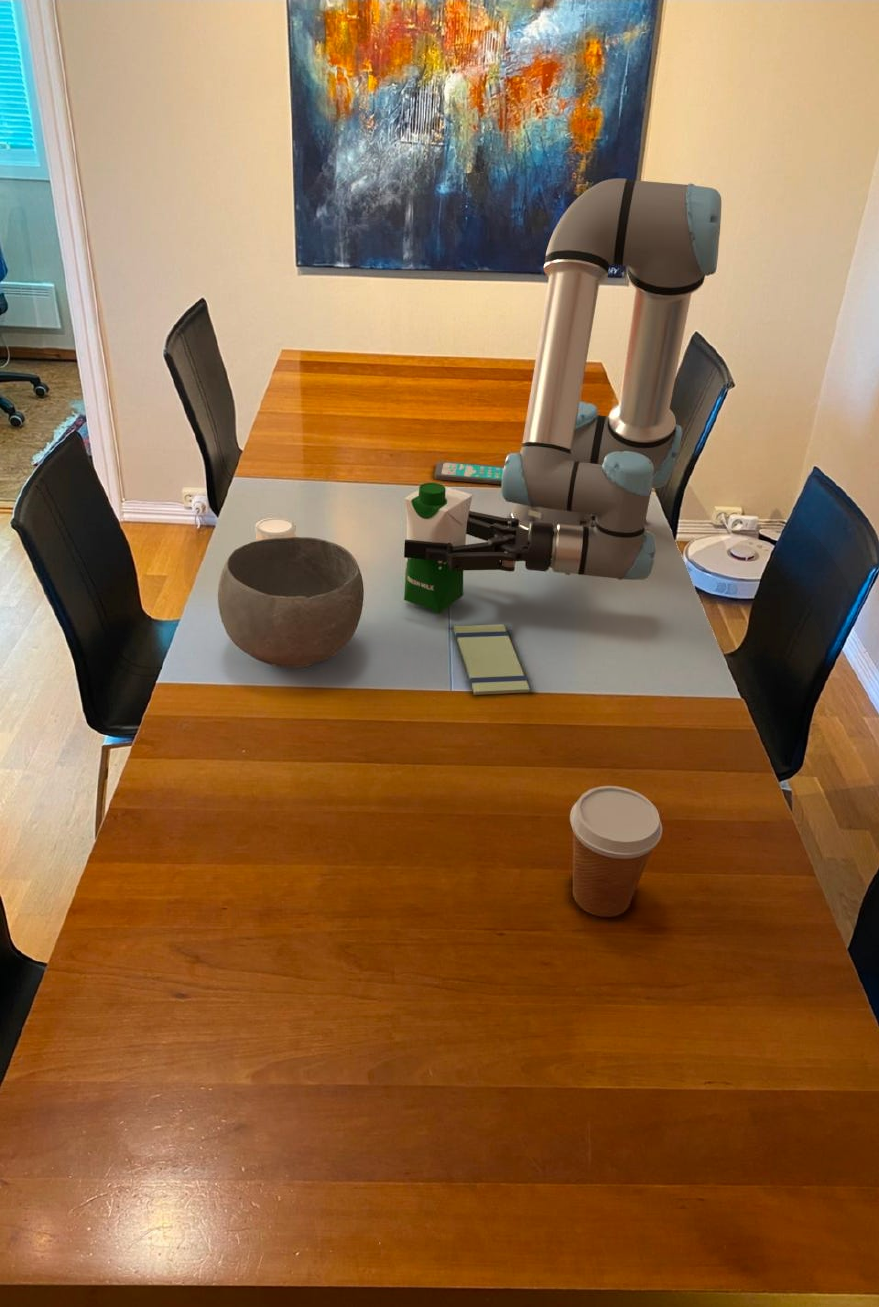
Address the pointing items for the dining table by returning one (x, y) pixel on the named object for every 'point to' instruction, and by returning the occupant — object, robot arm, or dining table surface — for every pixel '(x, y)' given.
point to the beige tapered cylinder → (274, 528)
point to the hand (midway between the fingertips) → (409, 534)
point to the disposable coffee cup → (611, 847)
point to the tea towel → (490, 660)
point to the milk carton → (440, 521)
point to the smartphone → (469, 472)
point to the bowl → (290, 599)
